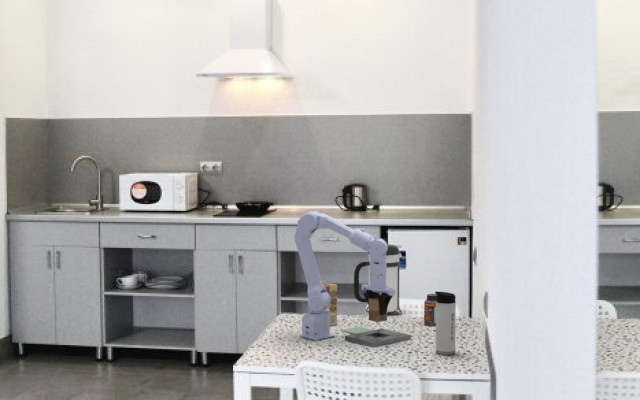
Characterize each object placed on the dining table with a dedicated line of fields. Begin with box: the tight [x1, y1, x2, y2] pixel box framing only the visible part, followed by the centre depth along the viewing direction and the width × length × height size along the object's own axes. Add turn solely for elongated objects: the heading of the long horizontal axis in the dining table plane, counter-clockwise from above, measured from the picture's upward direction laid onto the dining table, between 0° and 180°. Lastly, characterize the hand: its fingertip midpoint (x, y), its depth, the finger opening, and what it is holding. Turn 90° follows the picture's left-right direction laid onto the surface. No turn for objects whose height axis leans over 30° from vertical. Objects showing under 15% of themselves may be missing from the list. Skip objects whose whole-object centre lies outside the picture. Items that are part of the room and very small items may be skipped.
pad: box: [340, 326, 373, 335], centre depth 326 cm, size 9×9×1 cm
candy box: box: [322, 281, 338, 327], centre depth 339 cm, size 9×4×15 cm, turn 39°
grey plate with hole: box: [344, 328, 412, 348], centre depth 313 cm, size 18×14×2 cm
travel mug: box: [434, 291, 457, 356], centre depth 293 cm, size 6×7×20 cm
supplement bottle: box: [423, 293, 437, 327], centre depth 338 cm, size 6×6×11 cm
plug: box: [368, 297, 388, 323], centre depth 312 cm, size 4×4×8 cm
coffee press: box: [353, 237, 403, 316], centre depth 357 cm, size 17×16×30 cm
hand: (377, 313), depth 312 cm, fingers closed on plug, 4 cm apart
